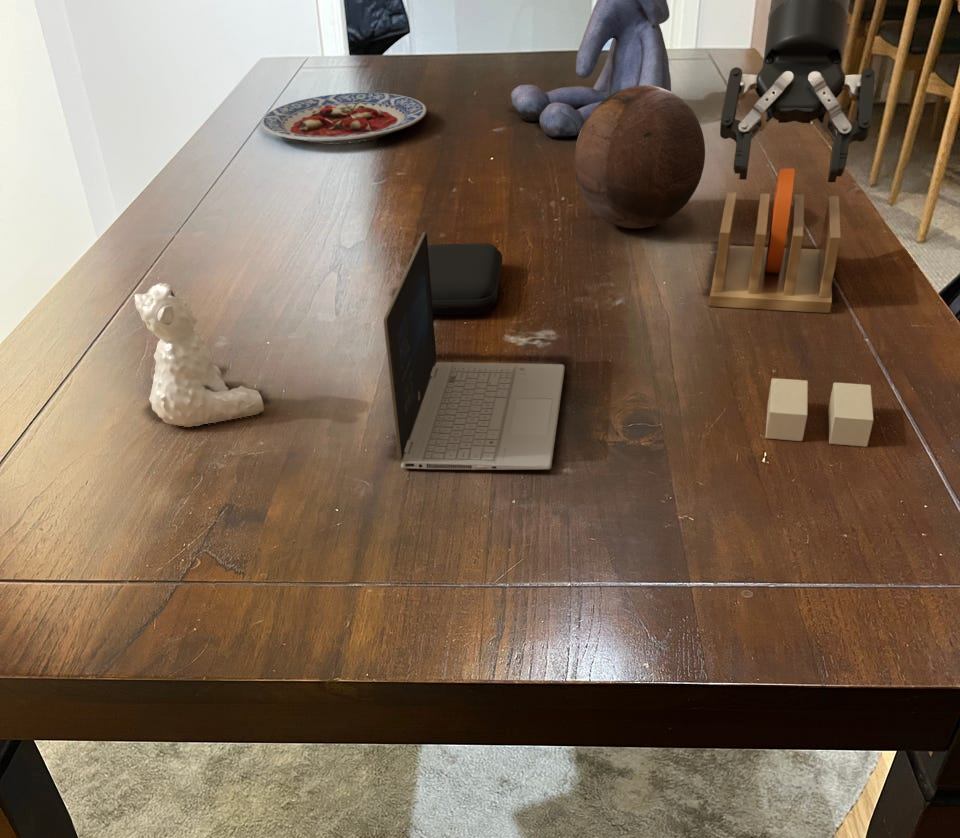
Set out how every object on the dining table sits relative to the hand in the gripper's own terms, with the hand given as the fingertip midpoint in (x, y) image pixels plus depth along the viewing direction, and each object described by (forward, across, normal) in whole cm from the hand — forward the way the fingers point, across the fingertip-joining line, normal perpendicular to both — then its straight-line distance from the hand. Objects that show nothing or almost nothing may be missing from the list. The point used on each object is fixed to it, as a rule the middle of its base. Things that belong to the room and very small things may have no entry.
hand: (787, 177), depth 99 cm
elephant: (-37, -29, +52) cm, 70 cm away
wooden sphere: (-4, -17, +20) cm, 26 cm away
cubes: (+28, +4, -12) cm, 31 cm away
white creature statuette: (+33, -49, -17) cm, 61 cm away
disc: (+6, 0, +8) cm, 10 cm away
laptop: (+30, -23, -14) cm, 41 cm away
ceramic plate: (-30, -67, +46) cm, 87 cm away
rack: (+7, 0, +9) cm, 11 cm away
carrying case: (+12, -34, +4) cm, 36 cm away
